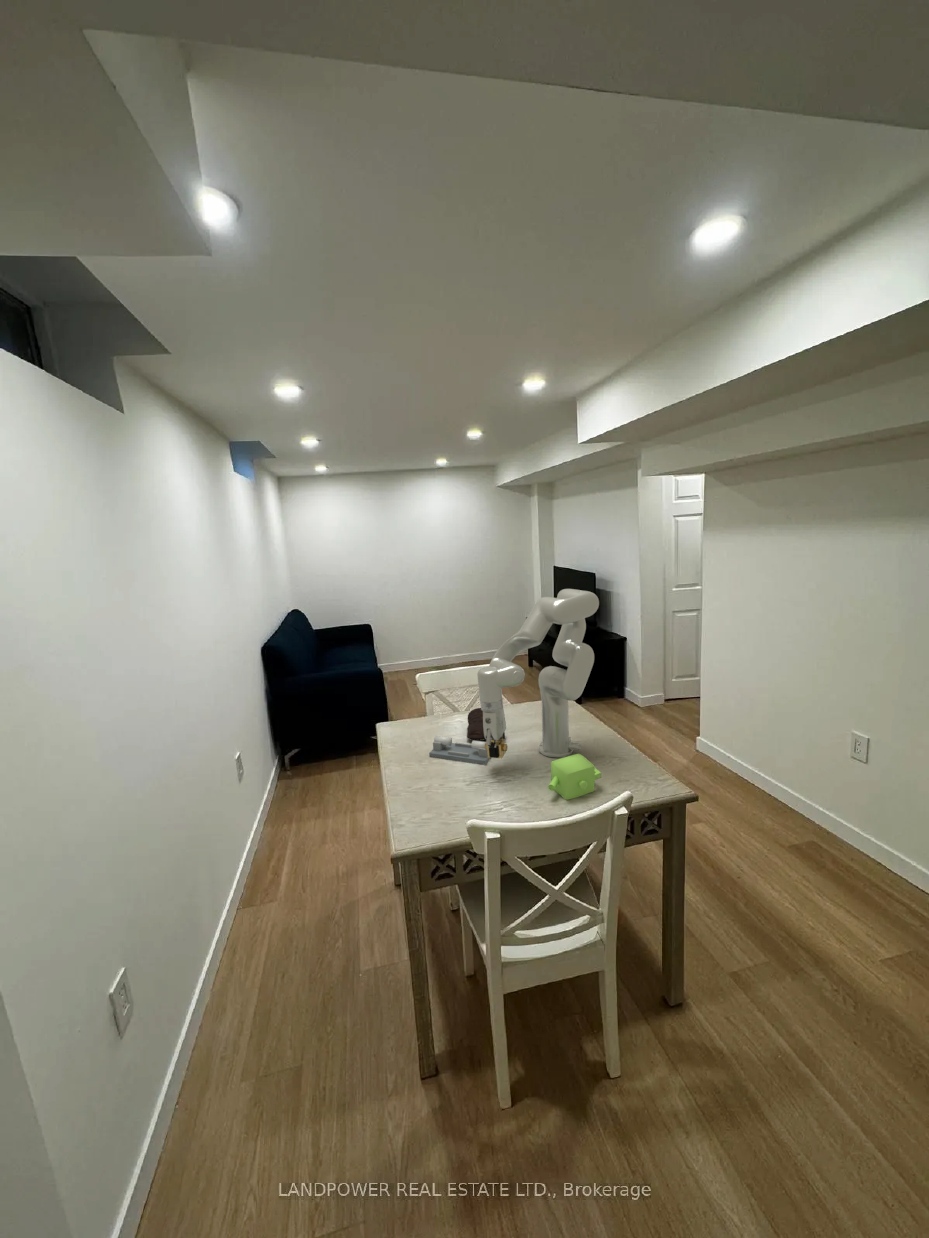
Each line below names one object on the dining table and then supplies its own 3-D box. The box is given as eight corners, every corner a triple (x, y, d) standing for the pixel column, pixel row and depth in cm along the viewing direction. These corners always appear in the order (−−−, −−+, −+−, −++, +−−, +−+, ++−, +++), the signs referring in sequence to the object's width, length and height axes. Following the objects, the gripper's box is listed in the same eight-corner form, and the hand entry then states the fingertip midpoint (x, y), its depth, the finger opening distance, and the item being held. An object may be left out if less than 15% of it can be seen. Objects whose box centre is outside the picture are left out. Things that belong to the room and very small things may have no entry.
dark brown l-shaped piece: (503, 726, 186) (502, 705, 200) (464, 729, 187) (466, 708, 201) (505, 747, 189) (505, 725, 203) (467, 750, 191) (469, 728, 205)
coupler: (509, 752, 168) (507, 739, 167) (505, 759, 164) (503, 745, 163) (488, 750, 171) (487, 737, 170) (484, 756, 167) (483, 743, 166)
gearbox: (556, 808, 145) (556, 780, 143) (538, 791, 154) (538, 764, 152) (605, 792, 152) (606, 764, 149) (586, 776, 161) (586, 750, 158)
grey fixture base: (494, 752, 181) (494, 737, 180) (485, 764, 172) (484, 749, 171) (440, 745, 190) (440, 730, 189) (429, 756, 181) (428, 741, 180)
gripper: (494, 715, 155) (499, 767, 159) (509, 694, 170) (514, 742, 174) (472, 713, 158) (477, 764, 162) (489, 693, 173) (494, 740, 177)
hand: (496, 752), depth 168 cm, fingers closed on coupler, 4 cm apart
